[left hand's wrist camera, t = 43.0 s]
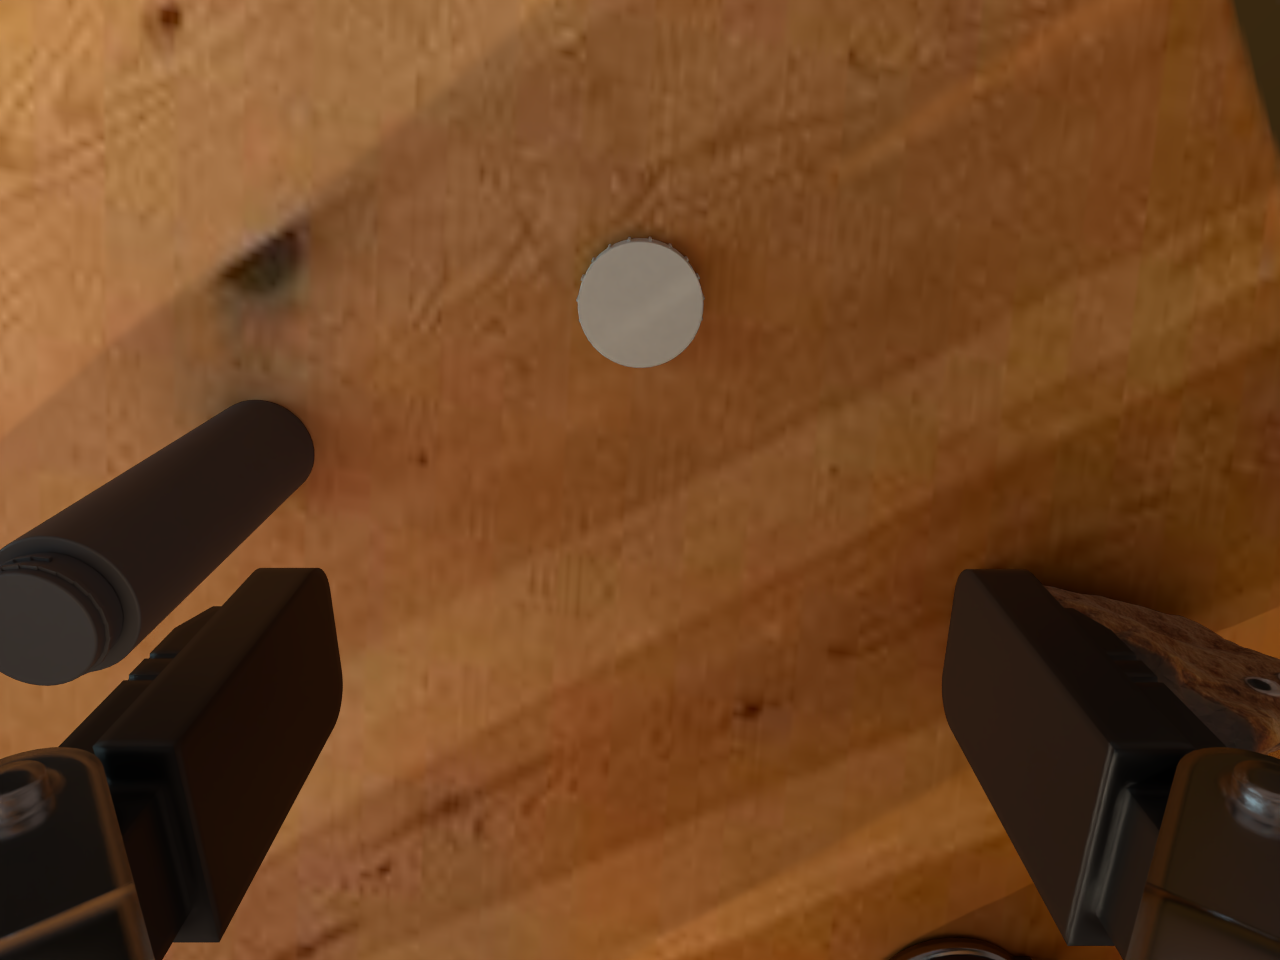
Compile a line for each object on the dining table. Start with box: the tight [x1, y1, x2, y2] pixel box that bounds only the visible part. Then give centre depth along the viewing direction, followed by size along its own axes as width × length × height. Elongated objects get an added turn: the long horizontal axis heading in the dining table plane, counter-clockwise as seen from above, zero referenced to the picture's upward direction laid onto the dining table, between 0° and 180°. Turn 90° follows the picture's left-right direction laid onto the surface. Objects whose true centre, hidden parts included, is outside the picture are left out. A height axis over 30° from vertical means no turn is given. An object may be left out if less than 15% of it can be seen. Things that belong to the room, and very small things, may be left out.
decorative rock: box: [1043, 585, 1280, 755], centre depth 36 cm, size 12×6×11 cm, turn 81°
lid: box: [576, 237, 705, 368], centre depth 35 cm, size 5×5×2 cm
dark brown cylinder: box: [0, 400, 314, 686], centre depth 31 cm, size 4×4×16 cm
